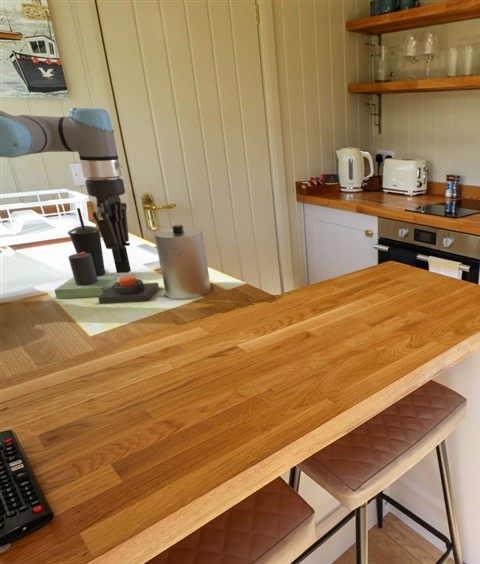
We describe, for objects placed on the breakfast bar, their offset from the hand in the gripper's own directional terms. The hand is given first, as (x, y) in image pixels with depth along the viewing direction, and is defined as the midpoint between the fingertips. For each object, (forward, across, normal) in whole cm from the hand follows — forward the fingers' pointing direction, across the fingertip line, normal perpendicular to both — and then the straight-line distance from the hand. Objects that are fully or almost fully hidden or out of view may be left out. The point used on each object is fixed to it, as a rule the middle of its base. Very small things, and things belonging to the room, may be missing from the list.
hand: (123, 271), depth 109 cm
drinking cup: (+8, +20, +17) cm, 27 cm away
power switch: (+4, 0, 0) cm, 4 cm away
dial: (+4, +5, +12) cm, 13 cm away
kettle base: (+7, 0, 0) cm, 7 cm away
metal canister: (+7, +1, -14) cm, 16 cm away
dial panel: (+7, +5, +12) cm, 15 cm away
